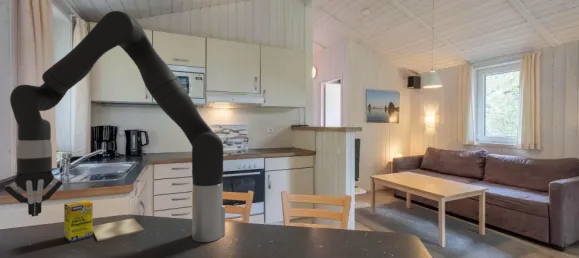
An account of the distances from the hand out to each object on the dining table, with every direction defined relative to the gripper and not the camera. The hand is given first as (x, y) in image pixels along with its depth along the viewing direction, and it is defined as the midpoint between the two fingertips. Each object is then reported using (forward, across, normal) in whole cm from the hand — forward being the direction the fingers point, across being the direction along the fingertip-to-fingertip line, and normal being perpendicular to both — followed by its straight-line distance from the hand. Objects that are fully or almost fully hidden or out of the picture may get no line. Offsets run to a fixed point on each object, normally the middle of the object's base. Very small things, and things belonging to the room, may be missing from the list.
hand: (35, 215), depth 82 cm
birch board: (+9, +21, 0) cm, 22 cm away
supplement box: (+9, +10, 0) cm, 14 cm away
